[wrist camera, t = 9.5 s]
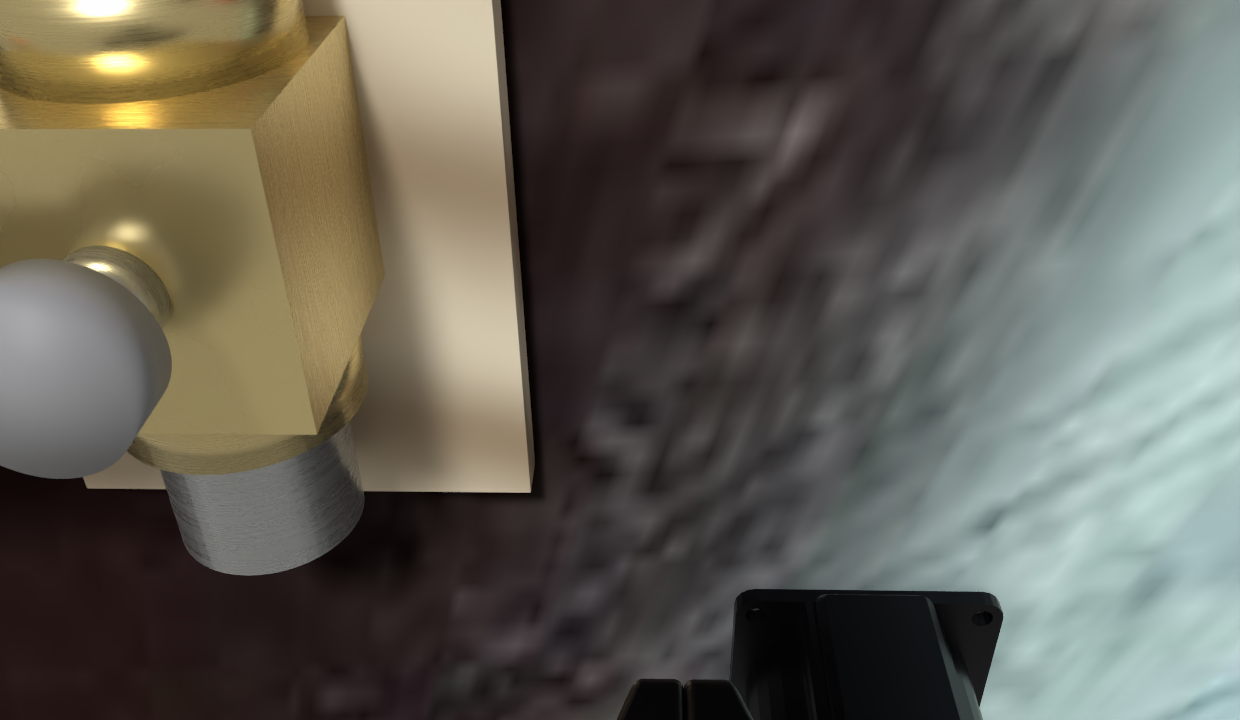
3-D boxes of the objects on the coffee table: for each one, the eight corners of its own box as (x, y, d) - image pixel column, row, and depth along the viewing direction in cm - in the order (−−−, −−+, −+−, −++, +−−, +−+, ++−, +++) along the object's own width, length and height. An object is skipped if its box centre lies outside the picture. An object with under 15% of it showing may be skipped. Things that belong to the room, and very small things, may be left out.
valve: (417, 442, 24) (346, 678, 18) (194, 440, 24) (59, 675, 18) (305, -301, 16) (123, -270, 10) (-26, -296, 16) (-373, -263, 11)
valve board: (535, 463, 25) (530, 492, 24) (106, 460, 25) (86, 488, 24) (472, -386, 16) (461, -387, 15) (-196, -375, 16) (-242, -375, 15)
